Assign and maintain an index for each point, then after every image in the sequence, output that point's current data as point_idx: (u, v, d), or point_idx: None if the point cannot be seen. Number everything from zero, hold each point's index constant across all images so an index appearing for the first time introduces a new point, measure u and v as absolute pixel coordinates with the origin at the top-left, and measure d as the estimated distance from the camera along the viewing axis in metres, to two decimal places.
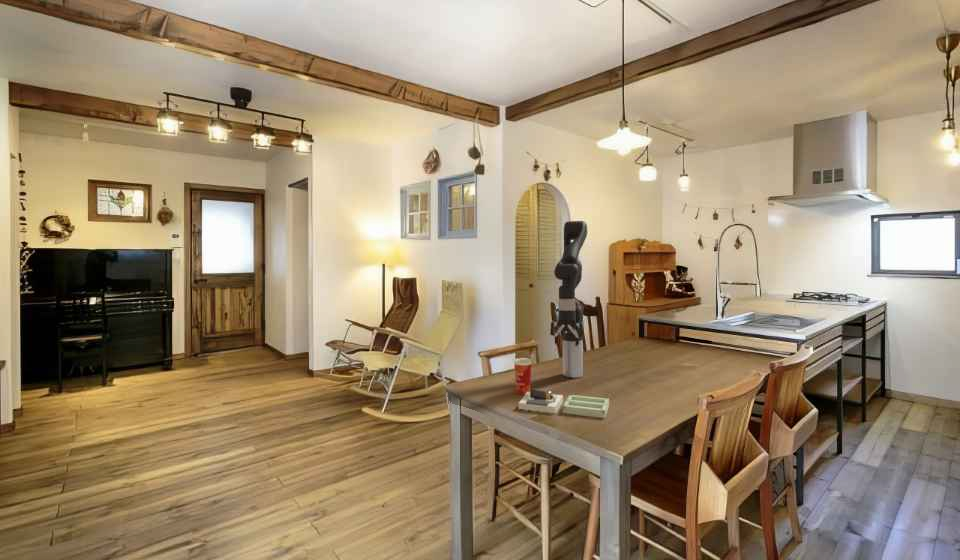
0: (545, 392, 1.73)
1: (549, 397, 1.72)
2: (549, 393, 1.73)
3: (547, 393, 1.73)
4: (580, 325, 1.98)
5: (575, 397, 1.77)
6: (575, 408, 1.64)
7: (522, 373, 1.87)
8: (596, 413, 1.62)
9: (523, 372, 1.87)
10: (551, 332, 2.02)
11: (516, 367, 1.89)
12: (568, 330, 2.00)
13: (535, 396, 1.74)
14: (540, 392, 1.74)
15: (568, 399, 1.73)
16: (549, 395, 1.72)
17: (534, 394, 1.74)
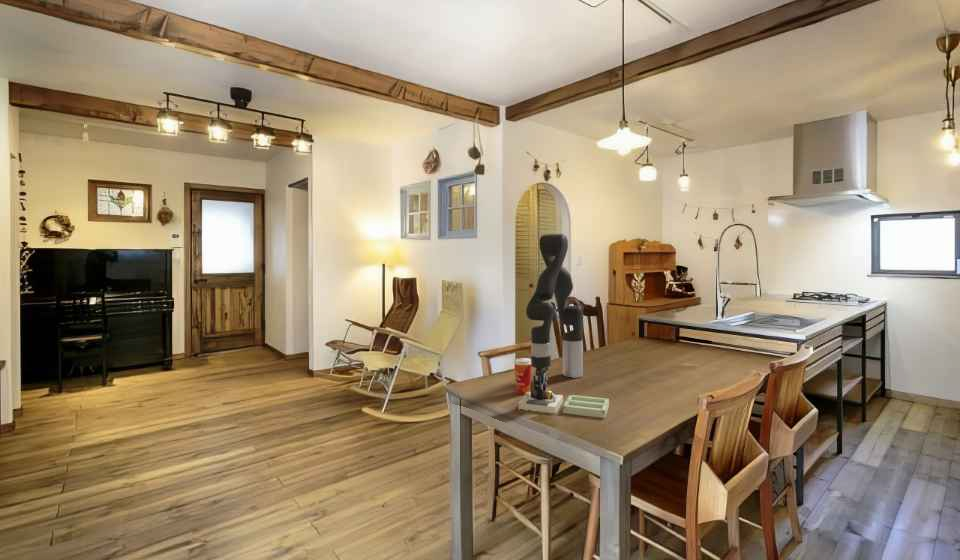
0: (546, 391, 1.74)
1: (549, 395, 1.73)
2: (550, 391, 1.74)
3: (547, 392, 1.74)
4: (547, 370, 1.79)
5: (575, 397, 1.77)
6: (575, 408, 1.64)
7: (522, 373, 1.87)
8: (596, 413, 1.62)
9: (523, 372, 1.87)
10: (541, 387, 1.70)
11: (516, 367, 1.89)
12: None
13: (535, 394, 1.75)
14: None
15: (568, 399, 1.73)
16: (550, 393, 1.73)
17: (535, 392, 1.75)
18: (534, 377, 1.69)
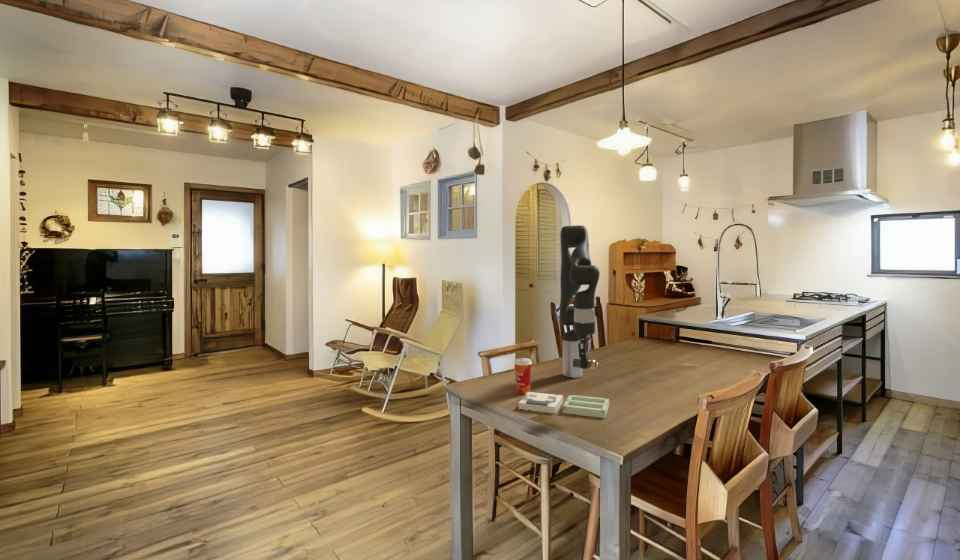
0: (589, 360, 1.65)
1: (594, 364, 1.63)
2: (594, 361, 1.64)
3: (591, 361, 1.64)
4: None
5: (575, 397, 1.77)
6: (575, 408, 1.64)
7: (522, 373, 1.87)
8: (596, 413, 1.62)
9: (523, 372, 1.87)
10: (586, 354, 1.61)
11: (516, 367, 1.89)
12: None
13: (578, 364, 1.65)
14: None
15: (568, 399, 1.73)
16: (594, 362, 1.63)
17: (578, 361, 1.65)
18: (579, 345, 1.59)
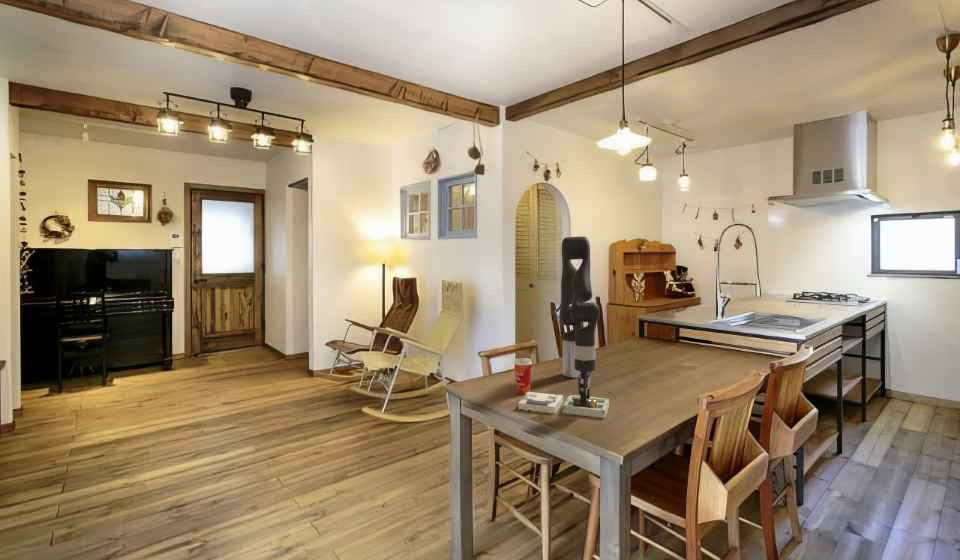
0: (589, 400, 1.66)
1: (594, 405, 1.64)
2: (594, 401, 1.65)
3: (592, 401, 1.65)
4: (590, 372, 1.71)
5: (575, 397, 1.77)
6: (575, 408, 1.64)
7: (522, 373, 1.87)
8: (596, 413, 1.62)
9: (523, 372, 1.87)
10: (585, 391, 1.60)
11: (516, 367, 1.89)
12: None
13: (579, 404, 1.66)
14: None
15: (568, 399, 1.73)
16: (594, 403, 1.64)
17: (578, 402, 1.66)
18: (579, 379, 1.60)
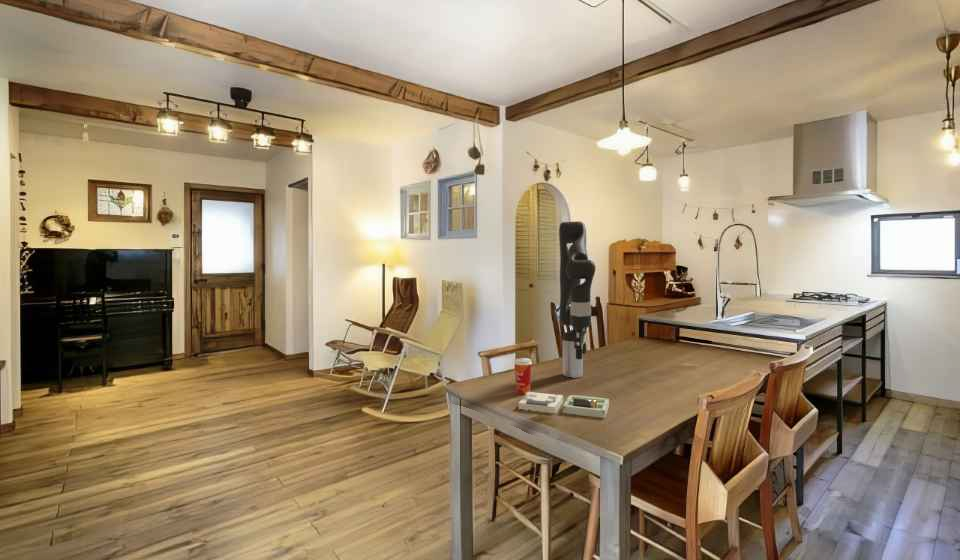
0: (590, 400, 1.66)
1: (594, 405, 1.64)
2: (594, 401, 1.65)
3: (592, 401, 1.65)
4: (586, 328, 1.75)
5: (575, 397, 1.77)
6: (575, 408, 1.64)
7: (522, 373, 1.87)
8: (596, 413, 1.62)
9: (523, 372, 1.87)
10: (581, 345, 1.63)
11: (516, 367, 1.89)
12: None
13: (579, 404, 1.66)
14: (584, 400, 1.66)
15: (568, 399, 1.73)
16: (594, 403, 1.64)
17: (578, 401, 1.66)
18: (575, 333, 1.63)
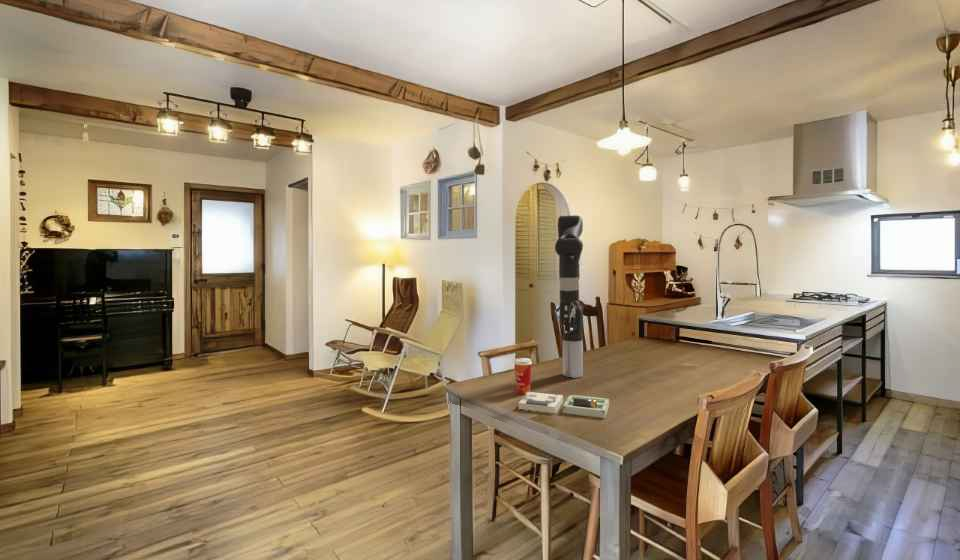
0: (590, 400, 1.66)
1: (594, 404, 1.64)
2: (594, 400, 1.65)
3: (592, 401, 1.65)
4: None
5: (575, 397, 1.77)
6: (575, 408, 1.64)
7: (522, 373, 1.87)
8: (596, 413, 1.62)
9: (523, 372, 1.87)
10: (569, 317, 1.73)
11: (516, 367, 1.89)
12: (572, 312, 1.80)
13: (579, 403, 1.66)
14: (584, 399, 1.67)
15: (568, 399, 1.73)
16: (594, 402, 1.65)
17: (578, 401, 1.67)
18: (563, 306, 1.74)
